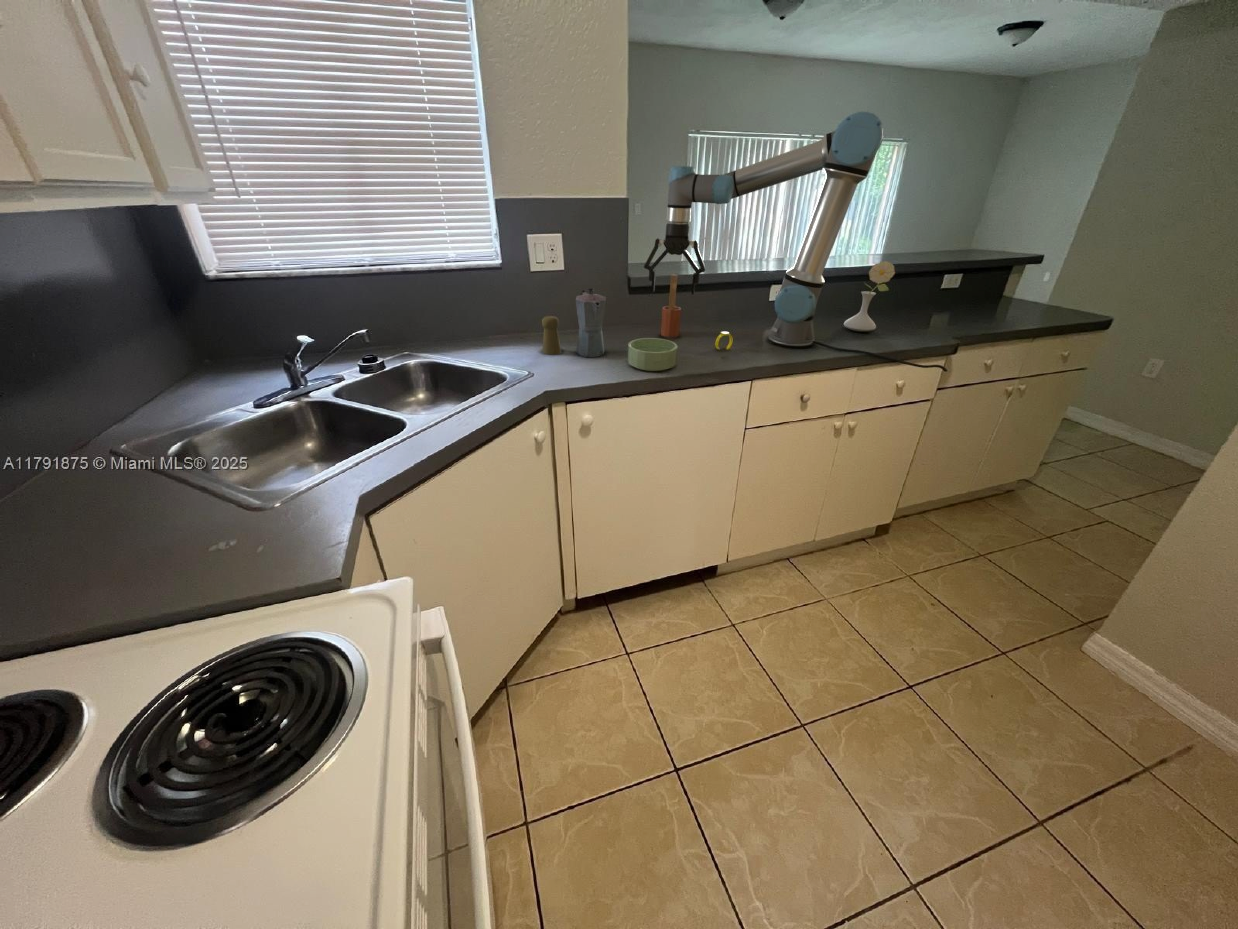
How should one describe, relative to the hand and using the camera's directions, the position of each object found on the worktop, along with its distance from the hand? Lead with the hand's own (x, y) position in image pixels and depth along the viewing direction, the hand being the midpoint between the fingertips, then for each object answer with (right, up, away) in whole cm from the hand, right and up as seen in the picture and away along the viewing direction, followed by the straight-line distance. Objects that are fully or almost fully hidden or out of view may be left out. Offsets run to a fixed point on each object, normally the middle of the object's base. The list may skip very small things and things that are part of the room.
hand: (672, 292), depth 165 cm
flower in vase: (+74, -8, +20) cm, 77 cm away
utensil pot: (0, -13, +8) cm, 15 cm away
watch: (+16, -21, -4) cm, 27 cm away
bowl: (-8, -28, -18) cm, 35 cm away
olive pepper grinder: (-40, -22, -9) cm, 47 cm away
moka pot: (-28, -23, -9) cm, 37 cm away
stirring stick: (0, -12, +7) cm, 14 cm away
